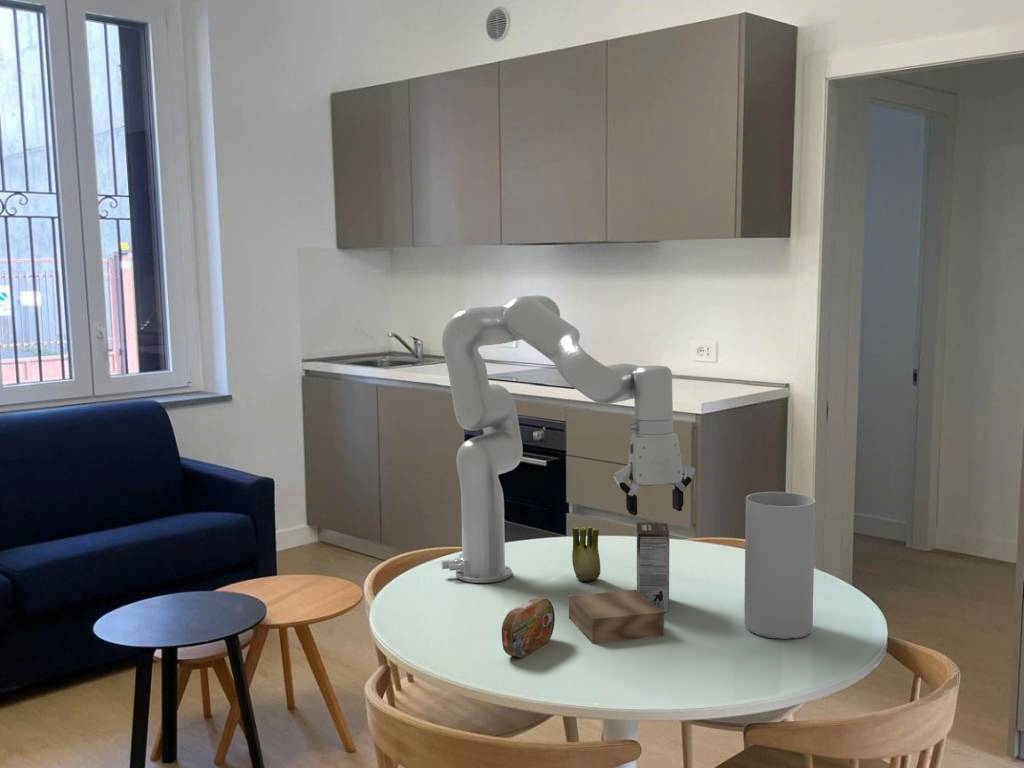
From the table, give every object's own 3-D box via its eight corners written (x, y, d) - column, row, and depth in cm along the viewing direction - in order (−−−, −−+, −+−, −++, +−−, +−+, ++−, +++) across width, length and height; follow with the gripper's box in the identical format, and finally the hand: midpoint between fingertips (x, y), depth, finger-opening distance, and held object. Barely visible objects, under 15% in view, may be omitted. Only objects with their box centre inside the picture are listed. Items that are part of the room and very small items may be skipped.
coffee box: (636, 597, 212) (636, 521, 210) (667, 598, 211) (667, 522, 209) (637, 612, 203) (637, 532, 201) (669, 612, 202) (670, 533, 200)
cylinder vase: (730, 623, 195) (732, 495, 193) (783, 614, 200) (785, 489, 198) (771, 644, 184) (774, 509, 181) (826, 634, 189) (829, 502, 186)
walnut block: (592, 645, 186) (592, 619, 185) (568, 620, 199) (568, 595, 199) (663, 638, 189) (663, 611, 189) (635, 614, 203) (635, 589, 202)
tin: (513, 664, 176) (513, 617, 175) (498, 661, 178) (497, 614, 177) (556, 637, 189) (556, 593, 188) (541, 634, 191) (541, 591, 190)
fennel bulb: (569, 579, 225) (569, 526, 223) (585, 575, 228) (585, 522, 227) (588, 585, 220) (588, 531, 219) (604, 580, 224) (604, 527, 222)
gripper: (620, 433, 197) (621, 519, 199) (701, 427, 202) (702, 512, 203) (606, 428, 204) (608, 511, 206) (685, 422, 209) (686, 504, 210)
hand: (655, 511), depth 205 cm, fingers open, 9 cm apart
